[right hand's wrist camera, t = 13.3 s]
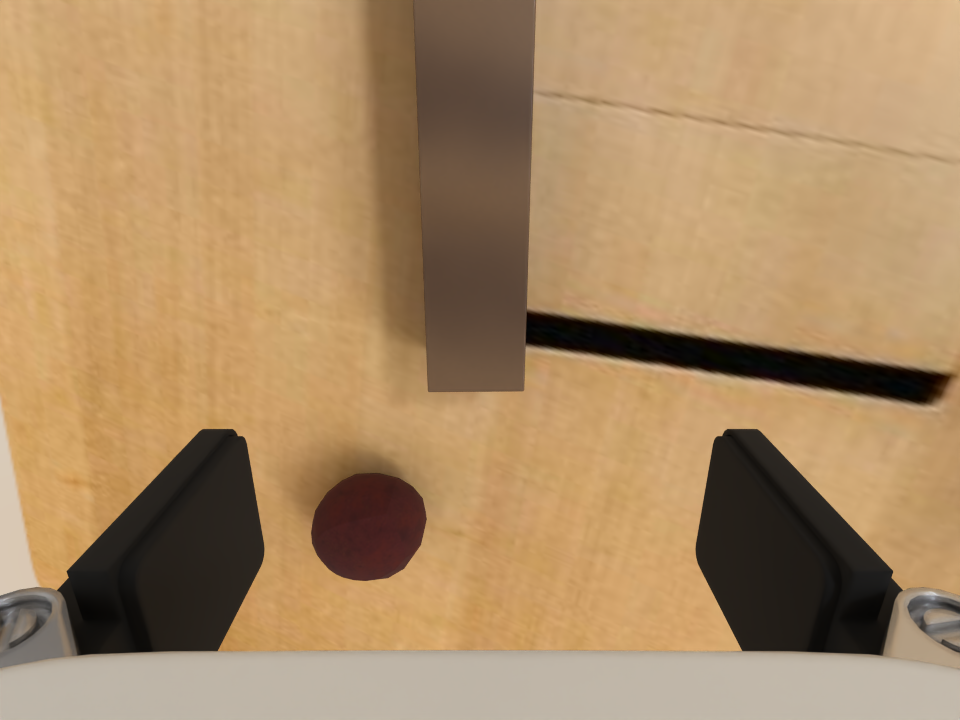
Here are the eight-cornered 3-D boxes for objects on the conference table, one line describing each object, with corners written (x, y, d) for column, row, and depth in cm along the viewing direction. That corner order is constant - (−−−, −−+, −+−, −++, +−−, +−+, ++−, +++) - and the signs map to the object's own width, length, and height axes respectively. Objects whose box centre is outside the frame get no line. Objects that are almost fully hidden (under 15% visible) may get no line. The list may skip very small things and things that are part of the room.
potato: (309, 472, 41) (279, 535, 35) (407, 438, 40) (395, 497, 34) (352, 548, 44) (331, 620, 37) (445, 518, 43) (441, 587, 37)
